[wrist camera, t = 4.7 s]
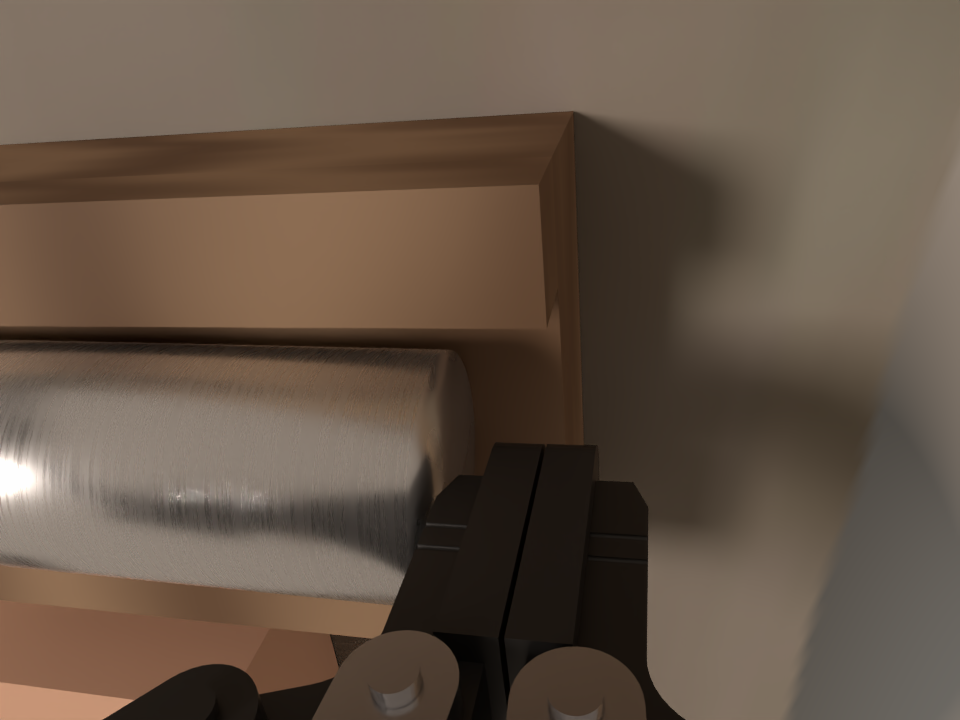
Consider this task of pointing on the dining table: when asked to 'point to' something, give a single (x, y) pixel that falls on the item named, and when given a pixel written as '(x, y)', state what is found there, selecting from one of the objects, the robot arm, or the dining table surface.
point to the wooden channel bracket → (305, 281)
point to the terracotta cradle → (135, 658)
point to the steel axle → (228, 462)
